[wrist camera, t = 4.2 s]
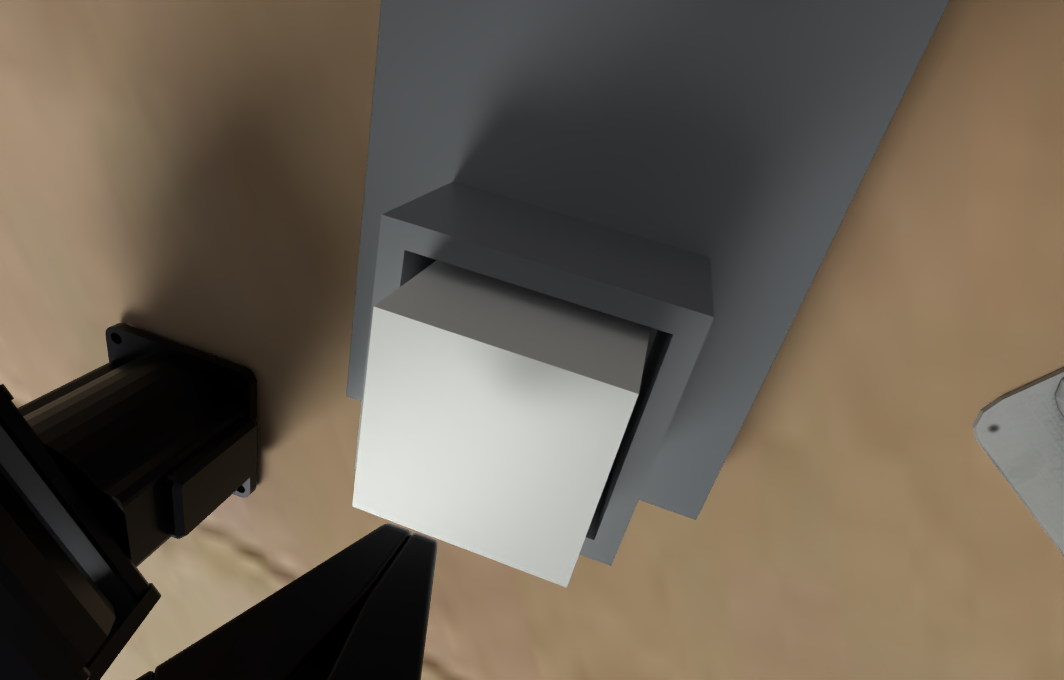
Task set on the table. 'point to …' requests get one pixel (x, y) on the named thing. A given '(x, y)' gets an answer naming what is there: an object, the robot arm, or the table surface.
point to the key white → (494, 415)
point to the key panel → (634, 185)
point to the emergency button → (1030, 447)
